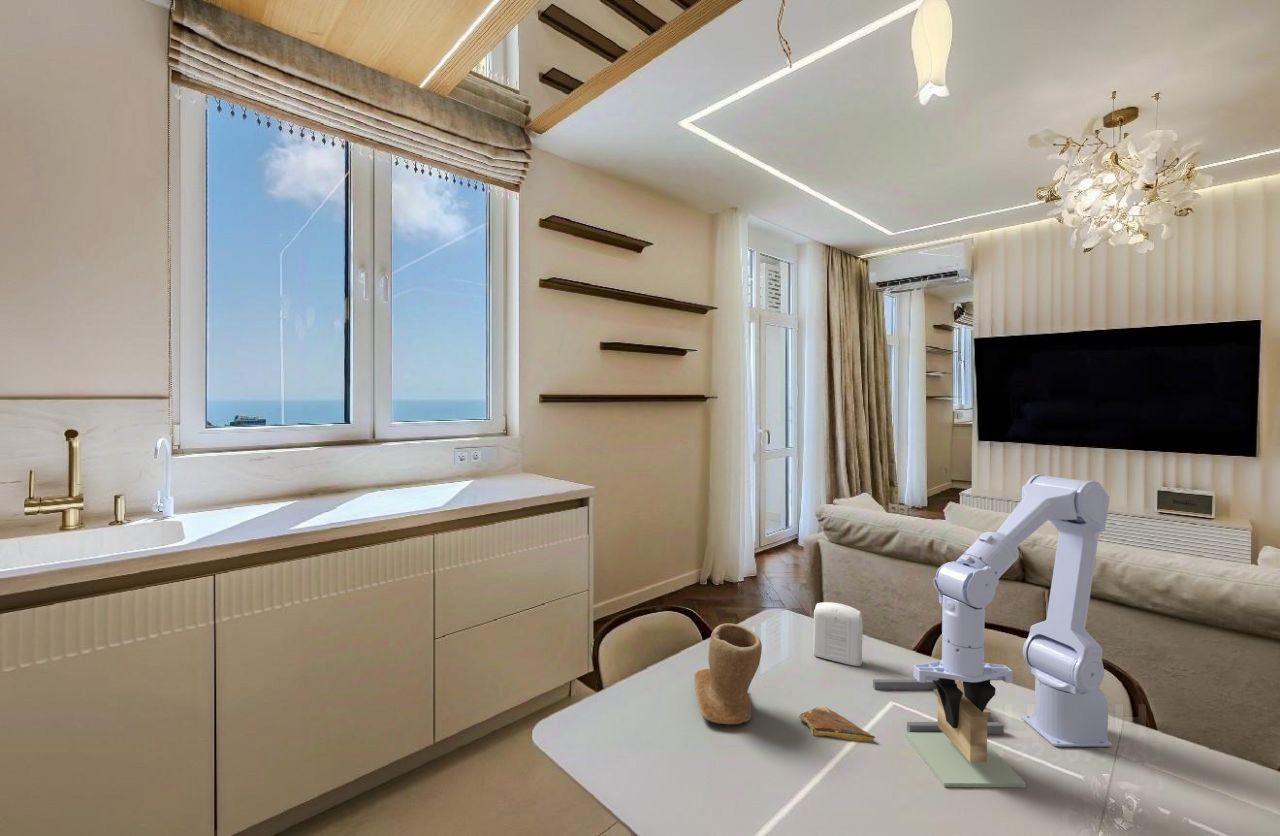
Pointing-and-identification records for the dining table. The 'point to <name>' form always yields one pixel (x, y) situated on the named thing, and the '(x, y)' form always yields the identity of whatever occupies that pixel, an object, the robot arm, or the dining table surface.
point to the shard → (833, 725)
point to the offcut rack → (929, 685)
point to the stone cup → (728, 675)
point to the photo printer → (838, 633)
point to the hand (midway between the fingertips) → (961, 724)
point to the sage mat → (961, 763)
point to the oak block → (966, 730)
